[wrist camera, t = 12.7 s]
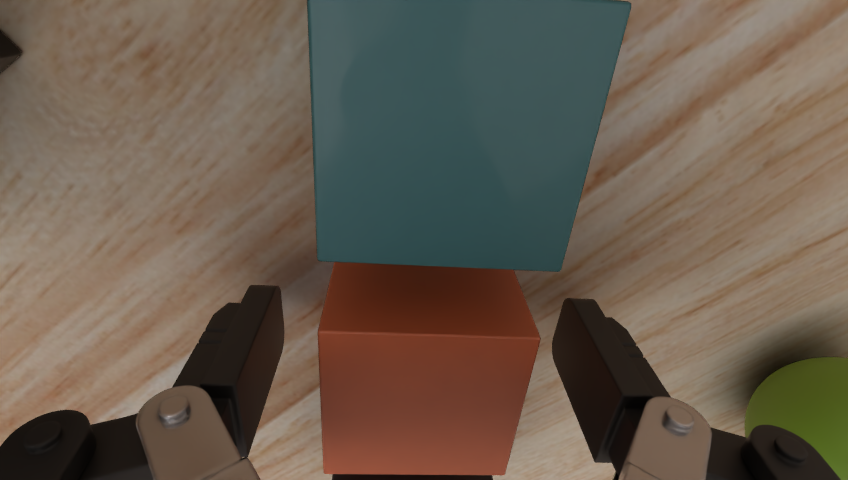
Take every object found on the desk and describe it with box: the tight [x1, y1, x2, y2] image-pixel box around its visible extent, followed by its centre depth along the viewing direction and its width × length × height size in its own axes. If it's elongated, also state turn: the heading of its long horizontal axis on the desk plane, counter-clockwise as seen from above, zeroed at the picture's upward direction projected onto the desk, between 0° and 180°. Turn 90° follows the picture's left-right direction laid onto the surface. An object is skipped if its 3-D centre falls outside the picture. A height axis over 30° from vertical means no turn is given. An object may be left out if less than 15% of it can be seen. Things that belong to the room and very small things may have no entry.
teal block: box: [307, 0, 631, 272], centre depth 9 cm, size 4×4×4 cm
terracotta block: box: [318, 262, 541, 475], centre depth 12 cm, size 4×4×4 cm
